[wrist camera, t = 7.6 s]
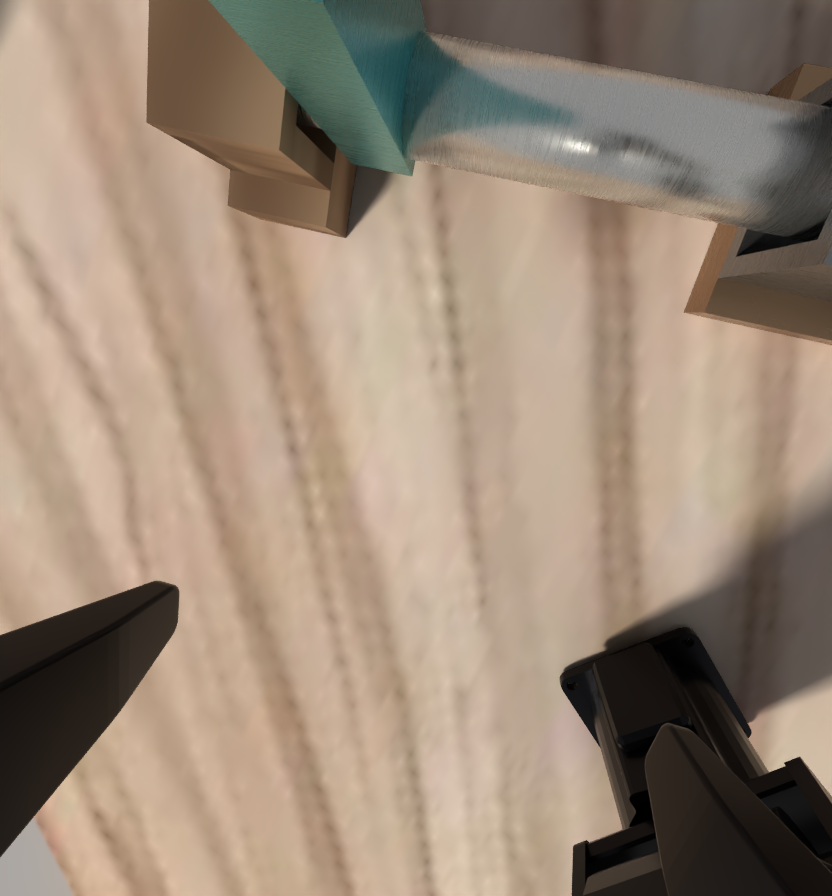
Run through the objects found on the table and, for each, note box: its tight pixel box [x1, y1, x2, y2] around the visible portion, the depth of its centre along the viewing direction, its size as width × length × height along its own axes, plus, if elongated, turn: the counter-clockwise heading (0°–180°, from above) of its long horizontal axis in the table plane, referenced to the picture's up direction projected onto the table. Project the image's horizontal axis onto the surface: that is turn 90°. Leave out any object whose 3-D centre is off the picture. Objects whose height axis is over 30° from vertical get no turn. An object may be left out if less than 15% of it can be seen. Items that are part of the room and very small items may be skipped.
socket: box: [147, 0, 357, 238], centre depth 13 cm, size 4×7×6 cm, turn 168°
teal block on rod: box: [209, 0, 832, 242], centre depth 10 cm, size 18×3×9 cm, turn 78°
